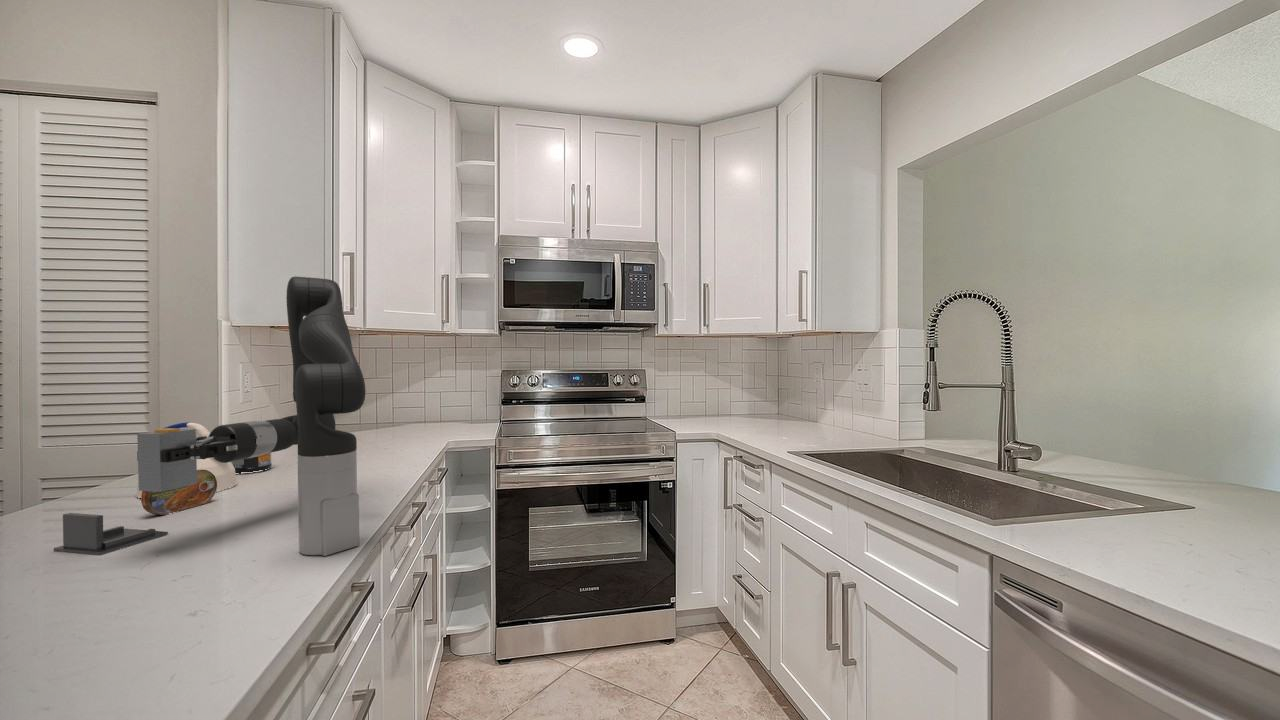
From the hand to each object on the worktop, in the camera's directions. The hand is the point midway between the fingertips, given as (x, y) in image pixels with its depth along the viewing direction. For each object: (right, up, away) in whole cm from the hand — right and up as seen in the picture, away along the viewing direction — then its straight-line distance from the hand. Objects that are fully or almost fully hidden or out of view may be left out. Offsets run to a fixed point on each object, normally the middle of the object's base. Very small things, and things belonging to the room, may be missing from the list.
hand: (151, 456), depth 92 cm
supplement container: (-35, -18, +70) cm, 80 cm away
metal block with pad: (+1, -6, +3) cm, 7 cm away
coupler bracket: (-14, -18, +7) cm, 24 cm away
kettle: (-34, -18, +47) cm, 61 cm away
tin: (-20, -18, +29) cm, 40 cm away
